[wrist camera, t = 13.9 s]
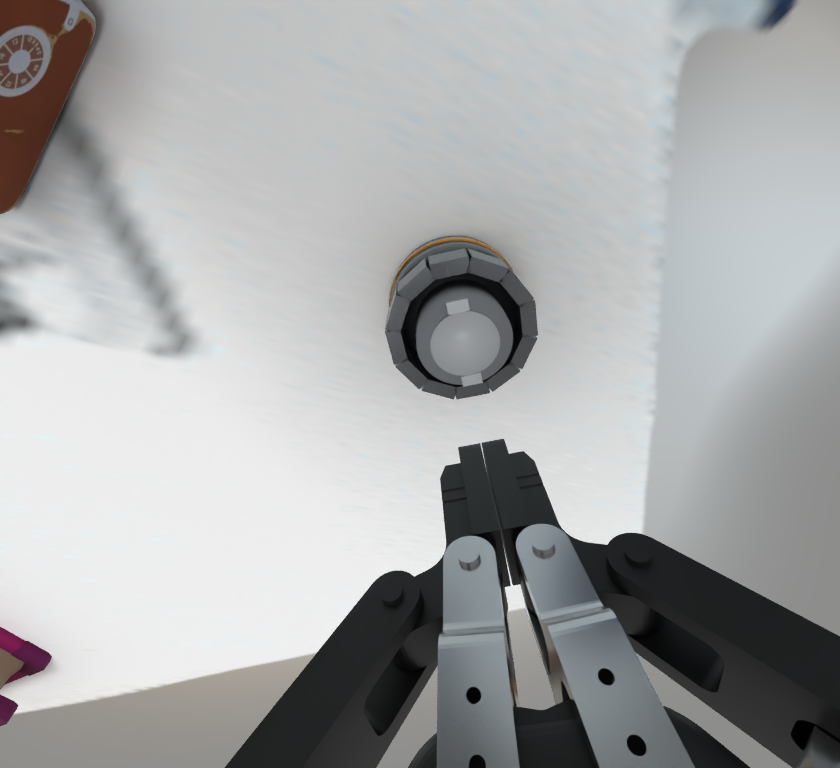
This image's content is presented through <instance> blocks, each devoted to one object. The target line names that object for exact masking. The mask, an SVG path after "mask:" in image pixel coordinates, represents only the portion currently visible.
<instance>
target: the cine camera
mask: <svg viewBox="0 0 840 768" xmlns="http://www.w3.org/2000/svg"><path fill="white" fill-rule="evenodd" d="M95 31H96V20H95V17H94V15H93V14H92V13H91V11H90V10H89V9H88V8H87V7H86V6H85V5H84V4H83V2H82V1H80V0H0V214H2V213H5V212H7V211H9V210H11V209H12V208H13V207H14V206H15V204H16V203H17V202H18V200H19V199H20V197H21V196H22V194H23V192H24V190H25V188H26V186H27V184H28V182H29V180H30V178H31V176H32V174H33V171H34V169H35V167H36V165H37V163H38V161H39V158H40V156H41V154H42V152H43V150H44V147H45V145H46V143H47V141H48V139H49V136H50V134H51V132H52V130H53V128H54V126H55V123H56V121H57V119H58V117H59V115H60V112H61V110H62V108H63V106H64V104H65V101H66V99H67V97H68V95H69V93H70V91H71V88H72V86H73V84H74V82H75V80H76V77H77V75H78V73H79V71H80V69H81V67H82V64H83V62H84V60H85V57H86V55H87V53H88V50H89V48H90V46H91V43H92V41H93V38H94V34H95Z"/></svg>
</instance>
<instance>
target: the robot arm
mask: <svg viewBox="0 0 840 768" xmlns="http://www.w3.org/2000/svg"><path fill="white" fill-rule="evenodd" d="M482 448H483V453H484V458H483V454H482V450H481V446H480V443H479V444H474V445H469V446H463V447H458V449H459V455H460V461H461V463H459V464H453V465H448V466H445V468H444V471H443V473H442V475H441V478H440V481H441V491H442V501H443V511H444V522H445V532H446V550H445V553H444V555H443V557H442V558H441V560H440V561H439V562H438V563H437V564H436V565H435V566H433V567H432V568H430V569H429V570H427V571H425V572H423V573H421V574H419V575H417V576H415V577H414V576H413V575H411V574H410V573H407V572H405V571H391V572H388V573H386V574H384V575H382V576H380V577H379V578H378V579H377V580H376V581H375V582H374V583H373V584H372V585H371V586H370V588H369V589H368V590H367V591H366V593H365V594H364V595H363V596H362V598H361V599H360V600H359V601H358V603H357V604H356V605H355V606H354V608H353V609H352V610H351V611H350V613H349V614H348V615H347V616H346V618H345V619H344V620H343V621H342V622H341V624H340V625H339V626H338V627H337V629H336V630H335V631H334V632H333V634H332V635H331V636H330V637H329V639H328V640H327V641H326V642H325V644H324V645H323V646H322V647H321V649H320V650H319V651H318V652H317V654H316V655H315V656H314V658H313V659H312V660H311V661H310V662H309V664H308V665H307V666H306V667H305V669H304V670H303V671H302V672H301V673H300V675H299V676H298V677H297V678H296V680H295V681H294V682H293V683H292V685H291V686H290V687H289V688H288V690H287V691H286V692H285V693H284V695H283V696H282V697H281V698H280V699H279V701H278V702H277V703H276V705H275V706H274V707H273V708H272V710H271V711H270V712H269V713H268V715H267V716H266V717H265V718H264V719H263V721H262V722H261V723H260V724H259V726H258V727H257V728H256V729H255V731H254V732H253V733H252V734H251V736H250V737H249V738H248V739H247V741H246V742H245V743H244V744H243V745H242V747H241V748H240V749H239V751H238V752H237V753H236V754H235V755H234V757H233V758H232V759H231V761H230V762H229V763H228V764H227V765H226V767H225V768H376V767H377V765H378V764H379V762H380V760H381V759H382V757H383V755H384V754H385V752H386V750H387V749H388V747H389V745H390V743H391V742H392V740H393V738H394V737H395V735H396V734H397V732H398V730H399V729H400V727H401V725H402V723H403V722H404V720H405V718H406V717H407V715H408V714H409V712H410V710H411V709H412V707H413V705H414V704H415V702H416V700H417V699H418V697H419V695H420V694H421V692H422V690H423V689H424V687H425V685H426V684H427V682H428V680H429V678H430V677H431V675H432V674H433V672H434V670H435V669H436V667H437V665H438V693H437V694H438V695H437V696H438V697H437V733H436V734H435V735H433V736H432V737H431V738H430V739H429V740H428V741H427V742H426V743H425V744H424V745H423V747H422V748H421V749H420V750H419V751H418V753H417V754H416V756H415V757H414V759H413V760H412V761H411V763H410V765H409V767H408V768H750V767H749V766H748V765H746V764H745V763H744V762H743V761H741V760H740V759H739V758H738V757H737V756H735V755H734V754H733V753H732V752H730V751H729V750H728V749H727V748H725V747H724V746H723V745H722V744H721V743H719V742H718V741H717V740H716V739H714V738H713V737H712V736H711V735H710V734H708V733H707V732H706V731H705V730H703V729H702V728H701V727H700V726H698V725H697V724H695V723H694V722H692V721H691V720H689V719H688V718H686V717H685V716H683V715H681V714H680V713H678V712H676V711H674V710H672V709H670V708H667V707H665V706H663V705H662V703H661V701H660V699H659V697H658V695H657V694H656V692H655V690H654V688H653V686H652V684H651V682H650V680H649V678H648V676H647V674H646V673H645V670H644V669H643V667H642V665H641V663H640V661H639V659H638V657H637V655H636V653H637V654H639V655H640V656H641V657H643V658H644V659H645V660H647V661H648V662H650V663H651V664H652V665H654V666H655V667H657V668H658V669H659V670H660V671H662V672H663V673H665V674H666V675H667V676H669V677H670V678H671V679H673V680H674V681H675V682H677V683H678V684H680V685H681V686H682V687H684V688H685V689H686V690H688V691H689V692H691V693H692V694H693V695H694V696H696V697H697V698H699V699H700V700H701V701H703V702H704V703H705V704H707V705H708V706H710V707H711V708H712V709H714V710H715V711H716V712H718V713H719V714H720V715H722V716H723V717H724V718H726V719H727V720H729V721H730V722H731V723H733V724H734V725H735V726H737V727H738V728H740V729H741V730H742V731H744V732H745V733H746V734H748V735H749V736H750V737H752V738H753V739H755V740H756V741H757V742H759V743H760V744H761V745H763V746H764V747H765V748H767V749H768V750H769V751H771V752H772V753H773V754H775V755H776V756H778V757H779V758H780V759H782V760H783V761H784V762H786V763H787V764H789V765H790V766H791V767H793V768H840V636H838V635H836V634H834V633H832V632H830V631H828V630H826V629H824V628H823V627H821V626H819V625H817V624H815V623H813V622H811V621H809V620H807V619H805V618H803V617H802V616H800V615H798V614H796V613H794V612H792V611H790V610H788V609H786V608H784V607H782V606H781V605H779V604H777V603H775V602H773V601H771V600H769V599H767V598H765V597H763V596H762V595H760V594H758V593H756V592H754V591H752V590H750V589H748V588H746V587H744V586H742V585H741V584H739V583H737V582H735V581H733V580H731V579H729V578H727V577H725V576H723V575H721V574H719V573H718V572H716V571H714V570H712V569H710V568H708V567H706V566H704V565H702V564H700V563H698V562H697V561H695V560H693V559H691V558H689V557H687V556H685V555H683V554H681V553H679V552H678V551H676V550H674V549H672V548H670V547H668V546H666V545H664V544H662V543H660V542H658V541H656V540H655V539H653V538H651V537H648V536H646V535H643V534H638V533H625V534H621V535H618V536H616V537H614V538H613V539H612V540H611V541H610V542H609V544H608V545H603V544H594V543H587V542H583V541H579V540H577V539H575V538H573V537H571V536H569V535H568V534H567V533H566V532H565V531H564V530H563V529H562V528H561V527H560V525H559V523H558V521H557V518H556V516H555V513H554V511H553V508H552V505H551V503H550V500H549V498H548V495H547V493H546V490H545V487H544V486H543V482H542V480H541V477H540V476H539V472H538V470H537V467H536V464H535V462H534V460H533V459H531V458H530V457H529V456H528V455H527V454H526V453H525V452H524V451H523V452H517V453H512V454H509V453H508V450H507V447H506V444H505V441H504V439H500V440H494V441H489V442H484V443H482ZM484 459H485V463H484ZM485 464H486V467H485ZM486 470H487V471H486ZM503 545H504V547H503ZM504 550H505V552H504ZM505 554H506V558H507V562H508V567H509V571H510V575H511V579H512V584H513V585H518V584H521V588H522V592H523V596H524V601H525V607H526V612H527V615H528V618H529V621H530V624H531V627H532V630H533V633H534V636H535V639H536V642H537V645H538V648H539V651H540V654H541V657H542V660H543V663H544V666H545V669H546V672H547V675H548V678H549V682H550V685H551V688H552V692H553V697H554V701H555V704H556V705H555V706H553V707H551V708H549V709H546V710H534V709H528V708H522V707H520V704H519V698H518V692H517V684H516V678H515V669H514V662H513V654H512V646H511V638H510V631H509V623H508V616H507V611H508V603H507V598H506V592H505V587H507V586H511V585H510V580H509V574H508V569H507V563H506V558H505ZM635 652H636V653H635Z"/></svg>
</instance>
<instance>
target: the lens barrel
mask: <svg viewBox="0 0 840 768" xmlns="http://www.w3.org/2000/svg"><path fill="white" fill-rule="evenodd" d="M455 279H468V280H472V281H476V282H478V283H481V284H482V285H484V286H486V287H487V288H488V289H490V290H491V291H492V292H493V294H494V295H495V296H496V298H497V299H498V301H499V303H500V305H501V307H502V308H503V310H504V312H505V314H506V316H507V318H508V319H509V321H510V324H511V327H512V331H513V345H512V349H511V352H510V355H509V357H508V359H507V360H506V362H505V363H504V365H503V366H502V367H501V368H500V369H499V370H498V371H497V372H496V373H495V374H493V375H492V376H490V377H489V378H487V379H485V380H483V383H479V384H475V385H470V386H465V387H463V385H456V384H450V383H447V382H443V381H441V380H439V379H437V378H436V377H434V376H433V375H432V374H430V373H429V372H428V371H427V370H426V369H425V367H424V366H423V364H422V363H421V361H420V359H419V356H418V353H417V345H416V314H417V310H418V307H419V305H420V303H421V301H422V300H423V298H424V297H425V296H426V294H427V293H428V292H429V291H431V290H432V289H433V288H434V287H436V286H438V285H439V284H441V283H444V282H446V281H450V280H455ZM385 329H386V331H385V333H386V337H387V340H388V344H389V348H390V351H391V355H392V359H393V362H394V364H396V368H397V369H398V370H399V371H400V372H401V373H402V374H404V375H405V376H406V377H407V378H408V379H409V380H410V381H411V382H412V383H413V384H414V385H415V386H416V387H417V388H418V389H420V388H421V387H422V391H425V392H428V393H432V394H436V395H440V396H443V397H447V398H451V399H454V397H455V395H456V398H457V399H461V398H466V397H471V396H477V395H482V394H487V393H490V391H489V388H490V389H491V390H492V391H494V390H496V389H497V388H498V387H500V386H501V385H502V384H504V383H505V382H506V381H508V380H509V379H511V378H512V377H513V376H515V375H516V374H517V373H519V372H520V370H519V368H521V369H522V368H523V366H524V364H525V362H526V360H527V358H528V356H529V354H530V352H531V350H532V348H533V346H534V344H535V342H536V340H537V337H536V336H537V335H538V331H537V320H536V308H535V301H534V299H533V297H532V295H531V294H530V293H529V292H528V290H527V289H526V288H525V287H524V285H523V284H522V283H521V282H520V280H519V279H518V278H517V277H516V275H515V274H514V273H513V271H512V269H511V267H510V266H509V264H508V263H507V261H506V260H505V259H504V258H503V257H502V256H501V255H500V254H499V253H498V252H497V251H495V250H494V249H493V248H491V247H490V246H488V245H486V244H484V243H483V242H480V241H478V240H476V239H472V238H468V237H462V236H448V237H442V238H438V239H435V240H432V241H430V242H427V243H425V244H424V245H422V246H420V247H419V248H417V249H416V250H415V251H414V252H412V253H411V254H410V255H409V256H408V257H407V258H406V260H405V261H404V262H403V264H402V265H401V266H400V268H399V270H398V272H397V274H396V276H395V278H394V281H393V284H392V287H391V291H390V300H389V312H388V315H387V320H386V328H385Z"/></svg>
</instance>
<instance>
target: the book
mask: <svg viewBox="0 0 840 768" xmlns="http://www.w3.org/2000/svg"><path fill="white" fill-rule="evenodd" d="M51 657H52V656H51V655H50V654H49V653H48V652H46V651H44V650H43V649H41V648H39V647H37V646H36V645H34V644H32V643H30V642H29V641H24V640H23V639H21V638H19V637H17V636H16V635H14V634H12V633H10V632H8V631H7V630H5V629H3V628H1V627H0V689H1V688H2V687H3V685H5V684H7V683H10V682H12V681H14V680H17V679H19V678H22V677H24V676H26V675H29V676H30V675H33V674H35V673H37V672H40V671H42V670H44V669H45V667H46V666H47V664H48V663H49V662H50V660H51ZM17 707H18V705H17V704H16V703H15V702H14V701H12V700H10V699H8V698H6V697H4V696H2V695H0V726H2V725H4V724H7V722H8V721H9V720H10V718H11V717H12V715H13V714H14V712H15V711H16V709H17Z"/></svg>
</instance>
